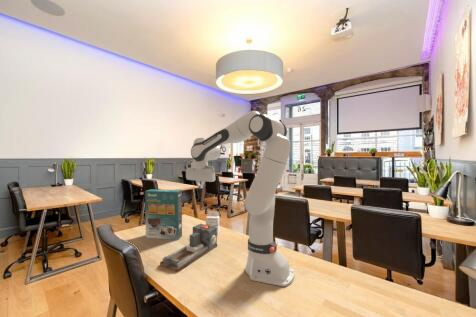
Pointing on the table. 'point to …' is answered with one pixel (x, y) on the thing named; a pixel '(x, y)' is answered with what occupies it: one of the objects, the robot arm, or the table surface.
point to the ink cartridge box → (213, 219)
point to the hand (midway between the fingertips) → (200, 188)
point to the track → (185, 257)
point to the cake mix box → (163, 214)
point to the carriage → (194, 243)
